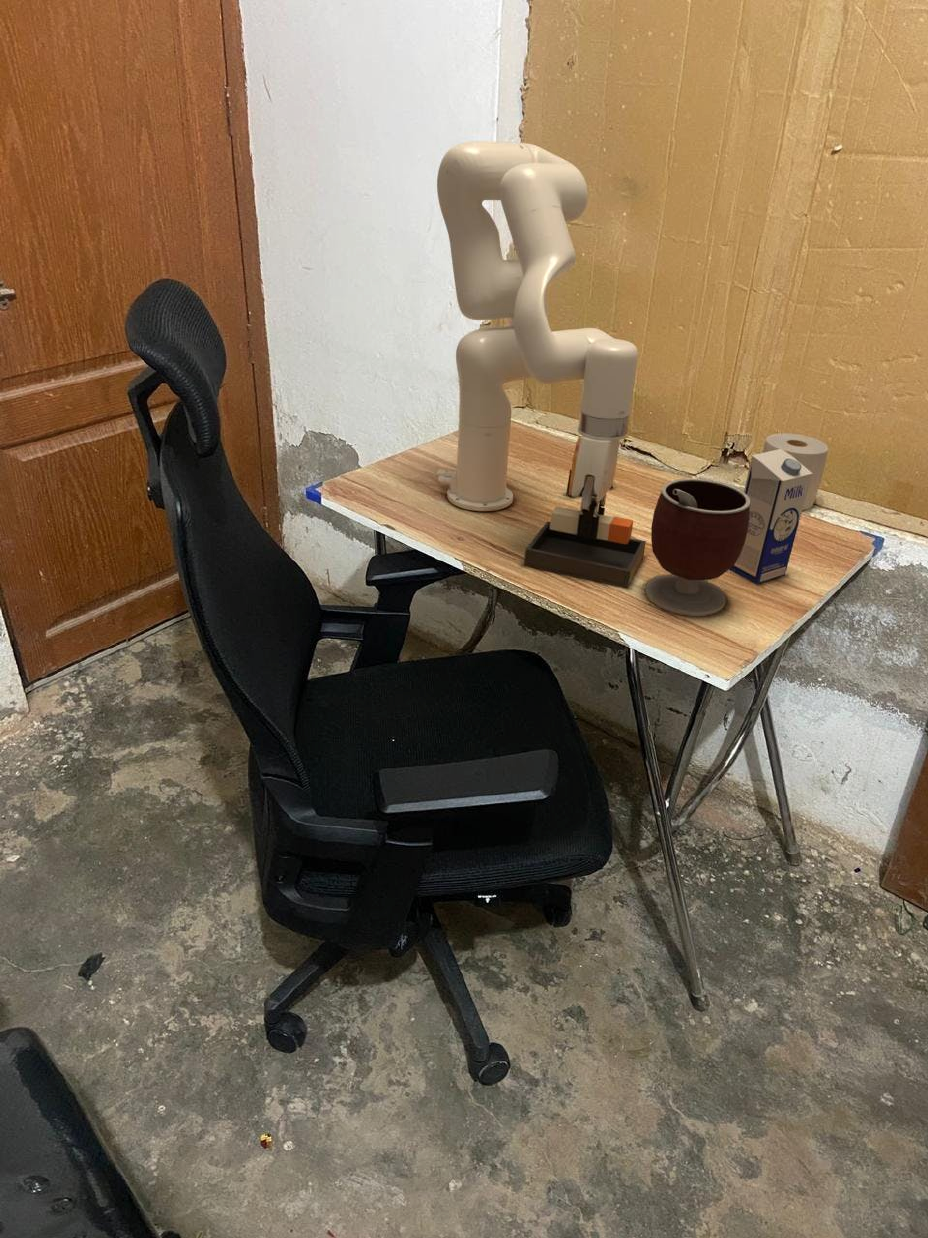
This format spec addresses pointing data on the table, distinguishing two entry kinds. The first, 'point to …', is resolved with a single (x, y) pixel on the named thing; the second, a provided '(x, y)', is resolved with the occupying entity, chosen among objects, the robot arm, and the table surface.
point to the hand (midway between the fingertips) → (589, 532)
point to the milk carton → (772, 514)
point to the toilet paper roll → (802, 457)
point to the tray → (585, 556)
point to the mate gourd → (696, 543)
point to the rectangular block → (607, 526)
